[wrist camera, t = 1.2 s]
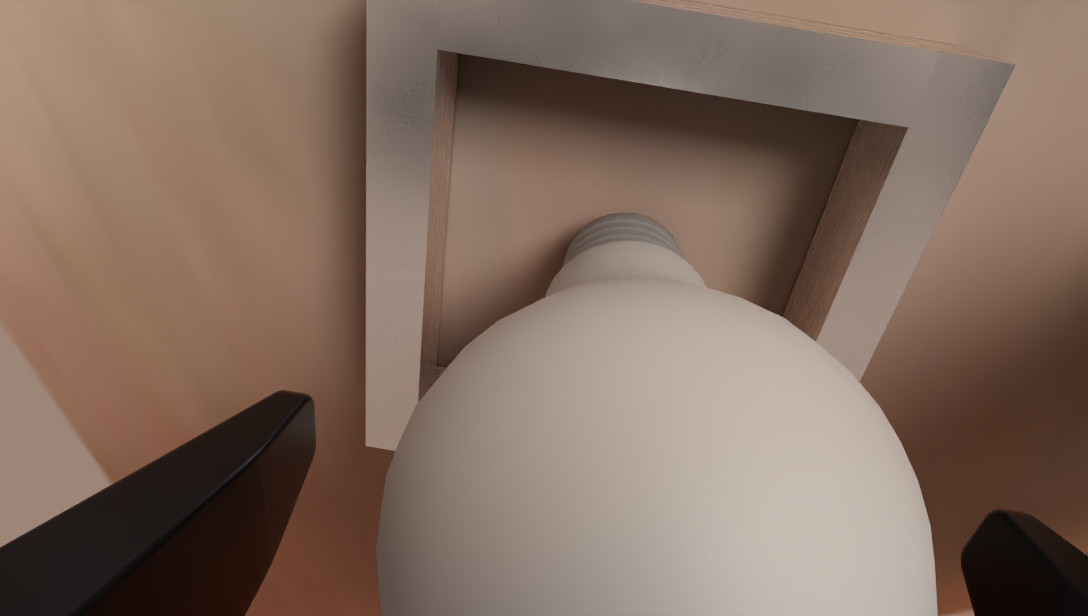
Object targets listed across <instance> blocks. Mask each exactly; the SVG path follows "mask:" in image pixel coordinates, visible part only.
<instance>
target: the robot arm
mask: <svg viewBox="0 0 1088 616" xmlns="http://www.w3.org/2000/svg"><path fill="white" fill-rule="evenodd" d="M315 448H316V430H315V411H314V401H313V399H312V397H311V396H310V395H308V394H304V393H298V392H292V391H286V390H281V391H278V392H275V393H273V394H272V395H270V396H268V397H266V398H265V399H263V400H261V401H259V402H257V403H256V404H254V405H252V406H250V407H249V408H247V409H245V410H243V411H242V412H240V413H238V414H236V415H234V416H233V417H231V418H229V419H227V420H226V421H224V422H222V423H220V424H218V425H217V426H215V427H213V428H211V429H210V430H208V431H206V432H204V433H202V434H201V435H199V436H197V437H195V438H194V439H192V440H190V441H188V442H187V443H185V444H183V445H181V446H179V447H178V448H176V449H174V450H172V451H171V452H169V453H167V454H165V455H163V456H162V457H160V458H158V459H156V460H155V461H153V462H151V463H149V464H148V465H146V466H144V467H142V468H140V469H139V470H137V471H135V472H133V473H132V474H130V475H128V476H126V477H124V478H123V479H121V480H119V481H117V482H116V483H114V484H112V485H110V486H108V487H107V488H105V489H103V490H101V491H100V492H98V493H96V494H95V495H93V496H91V497H89V498H88V499H86V500H84V501H82V502H80V503H79V504H77V505H75V506H73V507H71V508H70V509H68V510H66V511H64V512H62V513H61V514H59V515H57V516H55V517H54V518H52V519H50V520H48V521H46V522H45V523H43V524H41V525H39V526H38V527H36V528H34V529H32V530H30V531H29V532H27V533H25V534H24V535H22V536H20V537H18V538H16V539H15V540H13V541H11V542H9V543H7V544H6V545H4V546H2V547H0V616H245V614H246V613H247V611H248V609H249V607H250V605H251V603H252V601H253V599H254V597H255V595H256V593H257V592H258V590H259V588H260V586H261V584H262V582H263V580H264V578H265V576H266V574H267V572H268V570H269V568H270V566H271V564H272V561H273V559H274V556H275V554H276V552H277V549H278V547H279V544H280V542H281V539H282V537H283V534H284V531H285V529H286V526H287V524H288V521H289V519H290V516H291V514H292V511H293V508H294V506H295V503H296V501H297V498H298V496H299V493H300V490H301V488H302V485H303V483H304V480H305V478H306V475H307V473H308V470H309V467H310V465H311V462H312V460H313V456H314V453H315ZM961 568H962V572H963V575H964V579H965V583H966V586H967V590H968V593H969V597H970V600H971V604H972V608H973V611H974V614H975V616H1088V556H1087V555H1085V554H1084V553H1083V552H1081V551H1080V550H1079V549H1077V548H1076V547H1074V546H1073V545H1072V544H1070V543H1069V542H1068V541H1066V540H1065V539H1064V538H1062V537H1061V536H1059V535H1058V534H1057V533H1055V532H1054V531H1053V530H1051V529H1050V528H1049V527H1047V526H1046V525H1044V524H1043V523H1042V522H1040V521H1039V520H1038V519H1036V518H1035V517H1033V516H1031V515H1029V514H1026V513H1022V512H1016V511H1010V510H1004V509H996V510H993V511H991V512H990V513H988V514H987V515H986V517H985V518H984V520H983V521H982V522H981V524H980V525H979V527H978V528H977V529H976V531H975V532H974V534H973V535H972V536H971V538H970V539H969V541H968V542H967V543H966V545H965V546H964V548H963V550H962V554H961Z"/></svg>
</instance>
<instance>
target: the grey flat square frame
mask: <svg viewBox="0 0 1088 616" xmlns="http://www.w3.org/2000/svg"><path fill="white" fill-rule="evenodd" d="M459 53H462V54H468V55H474V56H480V57H486V58H492V59H498V60H504V61H510V62H516V63H522V64H528V65H534V66H540V67H546V68H552V69H558V70H564V71H570V72H576V73H582V74H588V75H594V76H601V77H607V78H613V79H619V80H625V81H631V82H637V83H643V84H649V85H655V86H661V87H667V88H673V89H679V90H685V91H691V92H697V93H703V94H709V95H715V96H721V97H727V98H733V99H739V100H745V101H751V102H757V103H764V104H770V105H776V106H782V107H788V108H794V109H800V110H806V111H812V112H818V113H824V114H830V115H836V116H842V117H848V118H854V119H859V121H858V124H857V126H856V129H855V132H854V134H853V137H852V139H851V142H850V144H849V147H848V150H847V152H846V155H845V157H844V160H843V162H842V165H841V167H840V170H839V173H838V175H837V178H836V180H835V183H834V185H833V188H832V191H831V193H830V196H829V198H828V201H827V203H826V206H825V209H824V211H823V214H822V216H821V219H820V221H819V224H818V226H817V229H816V232H815V234H814V237H813V239H812V242H811V244H810V247H809V250H808V252H807V255H806V257H805V260H804V262H803V265H802V267H801V270H800V273H799V275H798V278H797V280H796V283H795V285H794V288H793V291H792V293H791V296H790V298H789V301H788V303H787V306H786V308H785V311H784V314H783V316H782V317H783V318H785V319H786V320H788V321H789V322H790V323H792V324H793V325H794V326H796V327H797V328H798V329H800V330H801V331H802V332H804V333H805V334H806V335H808V336H809V337H810V338H812V339H813V340H814V341H816V342H817V343H818V344H820V345H821V346H822V347H823V348H824V349H825V350H827V351H828V352H829V353H830V354H831V355H832V356H833V357H835V358H836V359H837V360H838V361H839V362H840V363H841V364H842V365H844V366H845V367H846V368H847V369H848V370H849V371H850V372H851V373H852V374H853V375H854V376H855V377H856V379H857V380H858V381H859V382H860V380H861V378H862V376H863V374H864V372H865V370H866V368H867V366H868V364H869V362H870V360H871V358H872V355H873V353H874V351H875V349H876V347H877V345H878V343H879V341H880V339H881V337H882V335H883V333H884V331H885V329H886V327H887V325H888V323H889V321H890V319H891V317H892V315H893V313H894V311H895V309H896V307H897V305H898V303H899V301H900V299H901V297H902V295H903V292H904V290H905V288H906V286H907V284H908V282H909V280H910V278H911V276H912V274H913V272H914V270H915V268H916V266H917V264H918V262H919V260H920V258H921V256H922V254H923V252H924V250H925V248H926V246H927V244H928V242H929V240H930V238H931V236H932V234H933V231H934V229H935V227H936V225H937V223H938V221H939V219H940V217H941V215H942V213H943V211H944V209H945V207H946V205H947V203H948V201H949V199H950V197H951V195H952V193H953V191H954V189H955V187H956V185H957V183H958V181H959V179H960V177H961V175H962V173H963V170H964V168H965V166H966V164H967V162H968V160H969V158H970V156H971V154H972V152H973V150H974V148H975V146H976V144H977V142H978V140H979V138H980V136H981V134H982V132H983V130H984V128H985V126H986V124H987V122H988V120H989V118H990V116H991V114H992V112H993V110H994V107H995V105H996V103H997V101H998V99H999V97H1000V95H1001V93H1002V91H1003V89H1004V87H1005V85H1006V83H1007V81H1008V79H1009V77H1010V75H1011V73H1012V71H1013V69H1014V67H1015V64H1012V63H1009V62H1006V61H1002V60H999V59H996V58H993V57H990V56H987V55H984V54H981V53H978V52H974V51H971V50H968V49H965V48H962V47H959V46H956V45H950V44H944V43H938V42H932V41H926V40H920V39H914V38H908V37H901V36H895V35H889V34H883V33H877V32H871V31H865V30H859V29H853V28H847V27H841V26H835V25H829V24H823V23H817V22H811V21H805V20H799V19H793V18H787V17H781V16H775V15H769V14H763V13H757V12H751V11H745V10H739V9H733V8H727V7H721V6H715V5H709V4H703V3H697V2H691V1H685V0H367V25H366V446H369V447H375V448H381V449H387V450H393V451H396V448H397V446H398V444H399V441H400V439H401V437H402V435H403V432H404V430H405V428H406V426H407V424H408V422H409V419H410V417H411V415H412V413H413V411H414V409H415V407H416V405H417V404H418V403H419V401H420V400H421V399H422V398H423V396H424V395H425V394H426V393H427V392H428V390H429V389H430V388H431V387H432V385H433V384H434V383H435V382H436V381H437V379H438V378H439V377H440V376H441V375H442V373H443V372H444V371H445V370H446V368H447V367H443V366H437V352H438V338H439V324H440V310H441V296H442V282H443V268H444V254H445V240H446V226H447V211H448V197H449V183H450V169H451V155H452V141H453V127H454V113H455V99H456V85H457V71H458V57H459Z"/></svg>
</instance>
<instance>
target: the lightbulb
mask: <svg viewBox="0 0 1088 616" xmlns="http://www.w3.org/2000/svg"><path fill="white" fill-rule="evenodd" d="M376 566H377V582H378V596H379V603H380V611H381V616H937V615H938V610H937V593H936V575H935V561H934V552H933V543H932V534H931V526H930V522H929V518H928V515H927V511H926V507H925V504H924V500H923V496H922V493H921V489H920V485H919V482H918V479H917V477H916V475H915V473H914V470H913V468H912V466H911V464H910V462H909V459H908V457H907V455H906V453H905V450H904V448H903V446H902V444H901V442H900V440H899V438H898V436H897V435H896V433H895V431H894V430H893V428H892V426H891V425H890V423H889V421H888V419H887V418H886V416H885V414H884V413H883V411H882V409H881V408H880V406H879V405H878V404H877V403H876V402H875V400H874V399H873V398H872V397H871V396H870V394H869V393H868V392H867V391H866V389H865V388H864V387H863V386H862V385H861V383H860V382H859V381H858V380H857V379H856V377H855V376H854V375H853V374H852V373H851V372H850V371H849V370H848V369H847V368H846V367H845V366H844V365H842V364H841V363H840V362H839V361H838V360H837V359H836V358H835V357H833V356H832V355H831V354H830V353H829V352H828V351H827V350H825V349H824V348H823V347H822V346H821V345H820V344H818V343H817V342H816V341H814V340H813V339H812V338H810V337H809V336H808V335H806V334H805V333H804V332H802V331H801V330H800V329H798V328H797V327H796V326H794V325H793V324H792V323H790V322H789V321H788V320H786V319H785V318H783V317H781V316H779V315H777V314H775V313H773V312H770V311H768V310H766V309H764V308H762V307H760V306H758V305H755V304H753V303H751V302H749V301H747V300H745V299H743V298H740V297H737V296H734V295H730V294H727V293H723V292H720V291H716V290H713V289H709V288H706V286H705V284H704V282H703V280H702V278H701V276H700V275H699V274H698V273H697V272H696V270H695V269H694V268H693V267H692V266H691V265H690V264H689V263H688V262H687V261H685V260H684V256H683V254H682V252H681V251H680V249H679V247H678V245H677V243H676V241H675V239H674V237H673V236H672V235H671V233H670V232H669V231H668V230H667V229H666V228H665V227H664V226H662V225H661V224H660V223H658V222H657V221H655V220H653V219H651V218H649V217H647V216H643V215H639V214H635V213H615V214H609V215H606V216H603V217H600V218H598V219H596V220H594V221H592V222H590V223H589V224H587V225H586V226H585V227H584V228H582V229H581V230H580V231H579V233H578V234H577V235H576V236H575V237H574V239H573V240H572V242H571V244H570V246H569V248H568V251H567V253H566V255H565V259H564V262H563V267H562V269H561V270H560V271H559V273H558V274H557V275H556V276H555V277H554V279H553V281H552V282H551V284H550V286H549V288H548V290H547V292H546V296H545V298H543V299H541V300H539V301H537V302H535V303H533V304H531V305H529V306H527V307H525V308H523V309H520V310H518V311H516V312H514V313H512V314H510V315H508V316H506V317H504V318H502V319H500V320H498V321H497V322H496V323H494V324H493V325H492V326H491V327H489V328H488V329H487V330H485V331H484V332H483V333H482V334H480V335H479V336H478V337H476V338H475V339H474V340H473V341H471V342H470V343H469V344H467V345H466V346H465V347H464V348H463V349H462V351H461V352H460V353H459V354H458V355H457V357H456V358H455V359H454V360H453V361H452V363H451V364H450V365H449V366H448V367H447V368H446V370H445V371H444V372H443V373H442V375H441V376H440V377H439V378H438V379H437V381H436V382H435V383H434V384H433V385H432V387H431V388H430V389H429V390H428V392H427V393H426V394H425V395H424V396H423V398H422V399H421V400H420V401H419V403H418V404H417V405H416V407H415V409H414V411H413V413H412V415H411V417H410V419H409V422H408V424H407V426H406V428H405V430H404V432H403V435H402V437H401V439H400V441H399V444H398V446H397V448H396V451H395V453H394V456H393V458H392V461H391V463H390V466H389V468H388V471H387V473H386V479H385V485H384V492H383V498H382V504H381V511H380V519H379V526H378V534H377V542H376Z"/></svg>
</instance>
